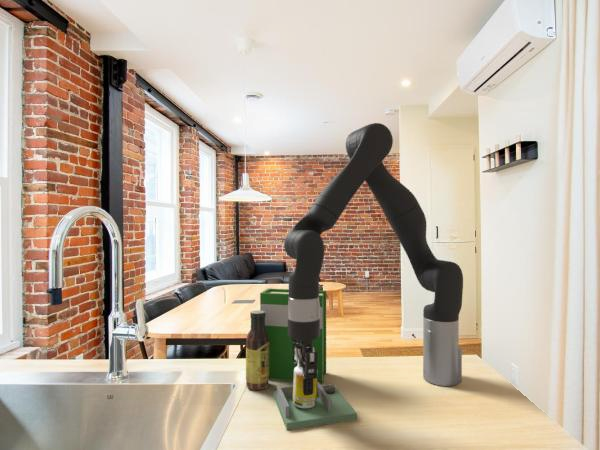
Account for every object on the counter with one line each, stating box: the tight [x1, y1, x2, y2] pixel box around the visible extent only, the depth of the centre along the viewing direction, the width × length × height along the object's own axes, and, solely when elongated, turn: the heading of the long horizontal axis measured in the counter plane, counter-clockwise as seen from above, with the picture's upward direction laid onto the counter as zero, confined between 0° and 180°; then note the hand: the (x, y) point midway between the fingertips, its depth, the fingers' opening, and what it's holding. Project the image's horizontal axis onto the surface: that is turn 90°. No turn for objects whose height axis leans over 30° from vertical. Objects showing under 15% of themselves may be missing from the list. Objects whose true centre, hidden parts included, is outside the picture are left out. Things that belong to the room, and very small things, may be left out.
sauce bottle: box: [245, 309, 270, 391], centre depth 99 cm, size 7×6×20 cm
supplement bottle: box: [292, 359, 318, 408], centre depth 86 cm, size 6×6×10 cm
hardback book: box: [259, 288, 327, 385], centre depth 106 cm, size 18×7×24 cm, turn 78°
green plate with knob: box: [273, 382, 358, 431], centre depth 88 cm, size 16×15×4 cm
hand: (303, 387), depth 86 cm, fingers open, 6 cm apart
